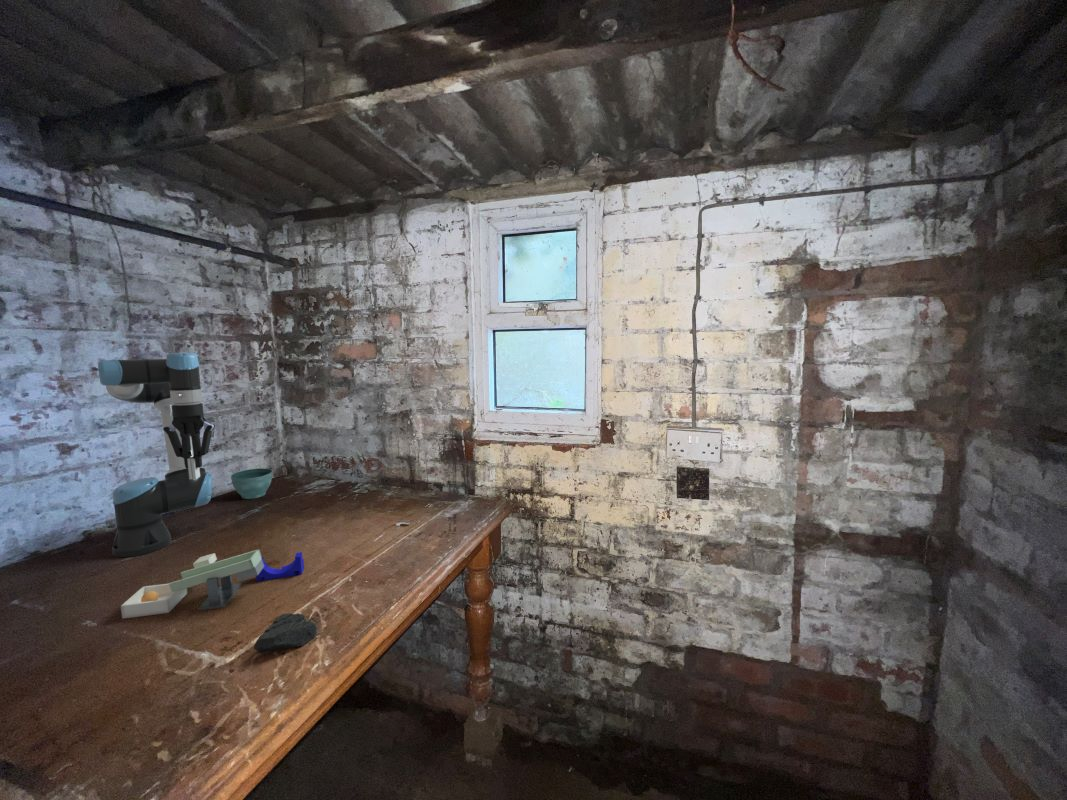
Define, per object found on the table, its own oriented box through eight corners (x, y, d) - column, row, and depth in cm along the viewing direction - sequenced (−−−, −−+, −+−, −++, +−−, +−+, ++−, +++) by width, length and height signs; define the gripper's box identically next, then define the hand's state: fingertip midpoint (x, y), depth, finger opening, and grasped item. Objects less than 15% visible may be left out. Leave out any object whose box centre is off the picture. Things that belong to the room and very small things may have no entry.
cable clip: (304, 567, 136) (302, 549, 135) (301, 575, 131) (300, 556, 131) (260, 574, 132) (258, 556, 131) (256, 582, 128) (254, 563, 127)
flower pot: (281, 493, 202) (279, 471, 201) (243, 504, 189) (241, 480, 187) (263, 487, 211) (261, 466, 209) (226, 497, 197) (223, 474, 196)
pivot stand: (198, 610, 114) (195, 583, 113) (218, 587, 124) (215, 563, 123) (224, 607, 115) (222, 580, 114) (241, 585, 126) (239, 560, 125)
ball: (156, 604, 114) (142, 610, 114) (164, 596, 118) (150, 602, 117) (149, 593, 114) (135, 599, 113) (157, 586, 117) (143, 592, 116)
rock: (320, 632, 107) (283, 621, 107) (322, 615, 105) (283, 604, 105) (292, 671, 97) (251, 658, 97) (293, 653, 95) (251, 640, 95)
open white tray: (122, 618, 110) (120, 606, 110) (144, 598, 119) (143, 586, 119) (168, 612, 113) (167, 600, 112) (187, 593, 122) (186, 581, 121)
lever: (175, 601, 114) (168, 584, 113) (202, 574, 128) (196, 558, 127) (257, 576, 118) (250, 559, 117) (274, 552, 132) (268, 537, 131)
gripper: (154, 405, 126) (163, 483, 129) (206, 404, 130) (213, 479, 133) (168, 402, 134) (176, 475, 137) (217, 401, 137) (224, 472, 140)
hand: (194, 477), depth 135 cm, fingers closed
